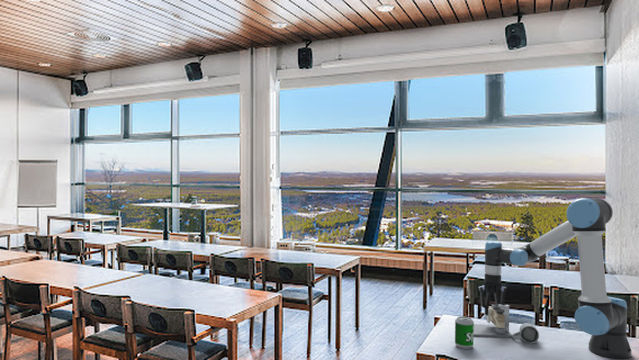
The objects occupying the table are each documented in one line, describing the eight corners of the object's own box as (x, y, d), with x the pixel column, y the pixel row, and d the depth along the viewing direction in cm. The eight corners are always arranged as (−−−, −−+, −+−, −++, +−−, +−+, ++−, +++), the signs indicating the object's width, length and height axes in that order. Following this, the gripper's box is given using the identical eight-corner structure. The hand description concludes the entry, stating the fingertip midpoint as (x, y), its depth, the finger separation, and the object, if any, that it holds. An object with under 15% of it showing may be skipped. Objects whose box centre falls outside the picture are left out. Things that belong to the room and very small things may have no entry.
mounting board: (513, 337, 203) (513, 329, 203) (472, 336, 203) (472, 328, 203) (500, 326, 218) (500, 319, 218) (462, 325, 218) (462, 318, 218)
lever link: (505, 328, 204) (505, 311, 204) (497, 327, 204) (497, 310, 204) (494, 318, 217) (494, 302, 218) (486, 318, 218) (487, 302, 218)
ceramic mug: (536, 338, 202) (536, 321, 202) (539, 344, 194) (539, 327, 194) (511, 336, 205) (511, 319, 205) (512, 342, 198) (512, 324, 198)
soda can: (461, 350, 186) (461, 321, 186) (451, 344, 193) (451, 316, 193) (477, 349, 188) (477, 320, 188) (466, 342, 195) (467, 315, 195)
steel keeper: (508, 333, 208) (509, 306, 208) (492, 333, 208) (492, 305, 208) (507, 332, 210) (507, 304, 210) (491, 332, 210) (491, 304, 210)
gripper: (506, 272, 219) (505, 320, 219) (473, 271, 220) (472, 319, 219) (512, 275, 212) (512, 325, 212) (478, 274, 212) (477, 324, 212)
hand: (492, 322), depth 215 cm, fingers closed on lever link, 3 cm apart
